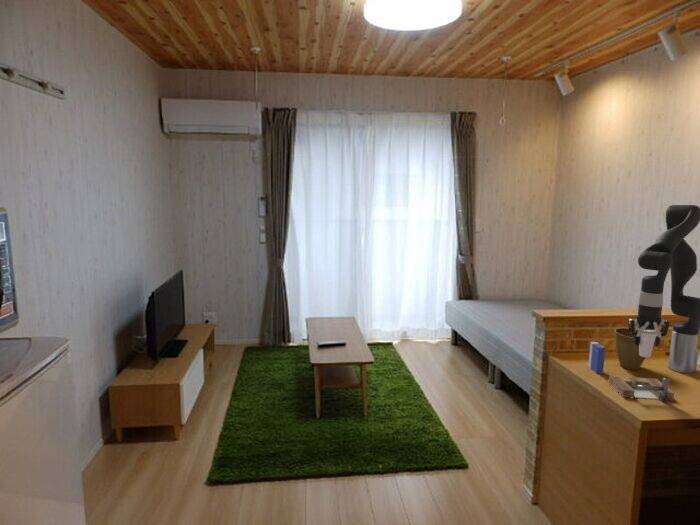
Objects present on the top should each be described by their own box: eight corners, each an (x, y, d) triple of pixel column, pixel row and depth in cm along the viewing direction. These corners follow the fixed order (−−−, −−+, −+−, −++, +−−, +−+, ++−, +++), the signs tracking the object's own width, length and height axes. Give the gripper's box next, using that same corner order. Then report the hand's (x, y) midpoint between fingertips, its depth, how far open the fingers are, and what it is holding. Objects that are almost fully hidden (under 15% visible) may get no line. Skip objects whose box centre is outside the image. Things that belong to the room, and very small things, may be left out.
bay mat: (647, 389, 182) (647, 388, 182) (658, 399, 174) (658, 398, 174) (624, 388, 184) (624, 387, 183) (634, 397, 175) (634, 397, 175)
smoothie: (636, 351, 181) (640, 317, 178) (655, 355, 177) (659, 320, 174) (634, 356, 176) (637, 321, 174) (653, 360, 172) (657, 324, 170)
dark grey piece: (664, 400, 173) (667, 377, 172) (667, 402, 171) (670, 380, 170) (629, 398, 175) (631, 376, 173) (631, 400, 173) (634, 378, 172)
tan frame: (655, 385, 186) (656, 378, 185) (673, 400, 173) (674, 392, 173) (608, 383, 188) (609, 376, 188) (622, 397, 176) (623, 390, 175)
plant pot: (615, 370, 201) (618, 336, 198) (608, 359, 215) (611, 326, 212) (654, 375, 196) (658, 339, 194) (644, 362, 210) (647, 329, 208)
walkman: (602, 373, 198) (605, 347, 196) (596, 373, 198) (598, 347, 196) (594, 366, 206) (596, 341, 204) (588, 366, 206) (590, 341, 204)
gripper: (665, 301, 176) (661, 343, 178) (625, 300, 177) (621, 341, 180) (676, 306, 168) (671, 349, 171) (634, 305, 170) (630, 348, 173)
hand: (646, 345), depth 176 cm, fingers closed on smoothie, 6 cm apart
